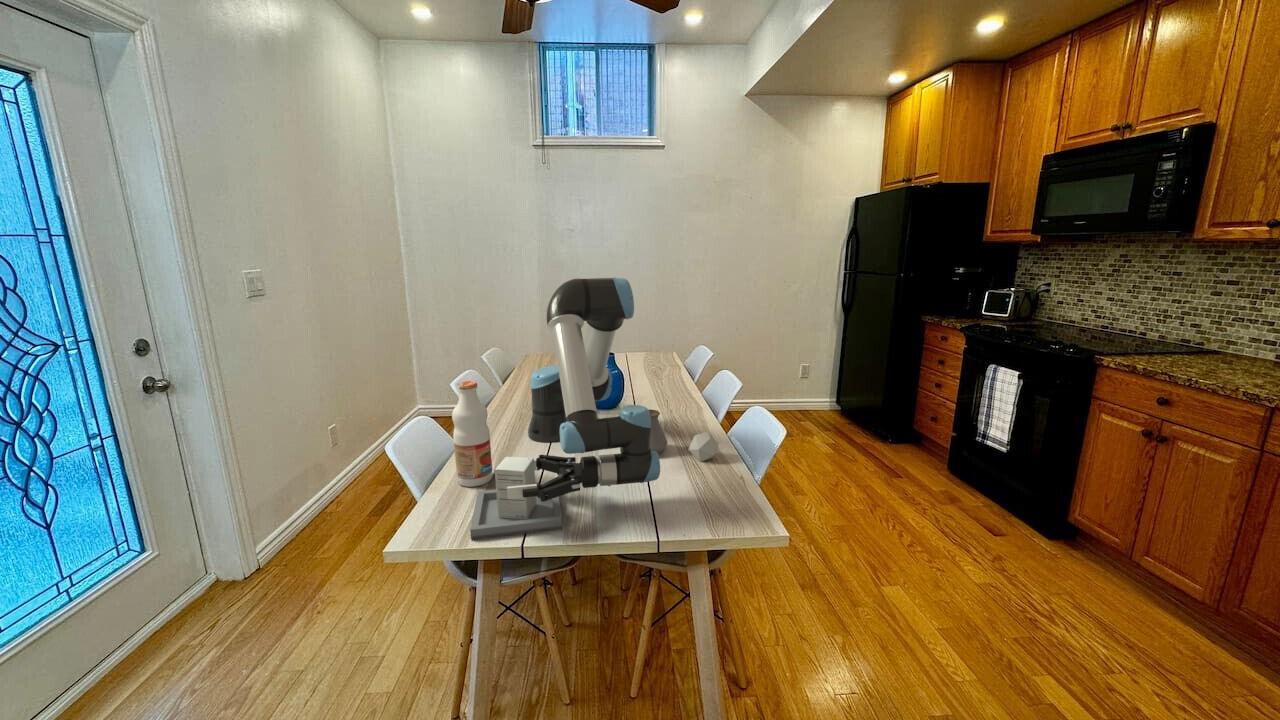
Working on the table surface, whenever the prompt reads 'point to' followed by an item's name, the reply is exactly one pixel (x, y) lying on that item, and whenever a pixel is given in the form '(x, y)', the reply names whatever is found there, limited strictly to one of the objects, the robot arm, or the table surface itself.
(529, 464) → the supplement box
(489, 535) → the tray
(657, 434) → the coffee pot
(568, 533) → the table surface
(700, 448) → the die
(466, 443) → the fruit juice
